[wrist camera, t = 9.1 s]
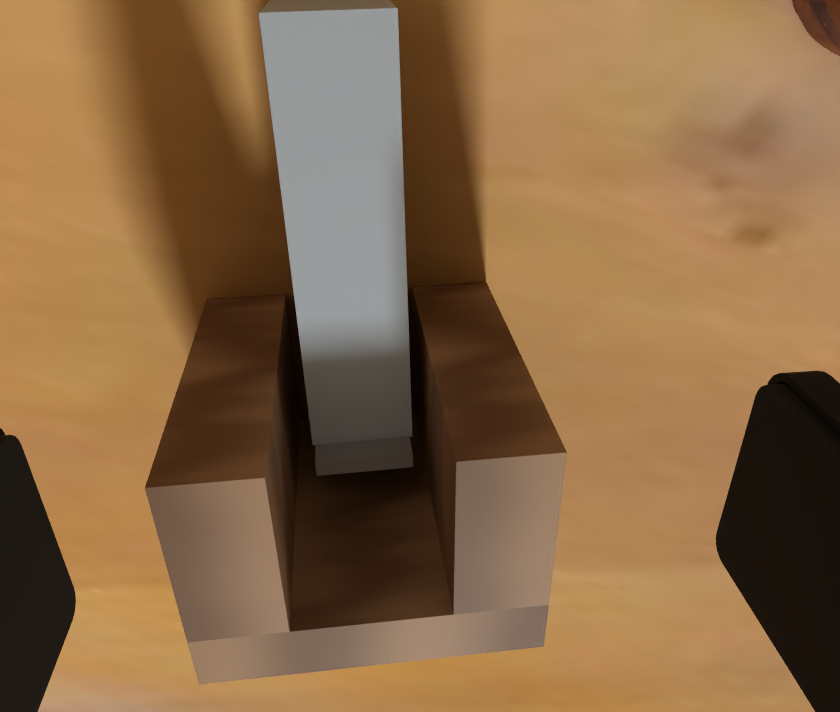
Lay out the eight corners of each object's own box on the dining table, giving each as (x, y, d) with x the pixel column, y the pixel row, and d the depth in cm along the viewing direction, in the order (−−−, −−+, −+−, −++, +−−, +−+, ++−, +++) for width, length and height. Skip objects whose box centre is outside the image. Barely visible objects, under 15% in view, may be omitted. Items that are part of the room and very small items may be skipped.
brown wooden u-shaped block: (486, 282, 28) (567, 452, 19) (480, 441, 32) (543, 646, 23) (207, 299, 27) (144, 488, 18) (236, 461, 31) (198, 684, 22)
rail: (383, -5, 23) (401, 11, 18) (400, 377, 30) (415, 466, 25) (271, -2, 22) (255, 16, 17) (315, 384, 30) (314, 476, 25)
